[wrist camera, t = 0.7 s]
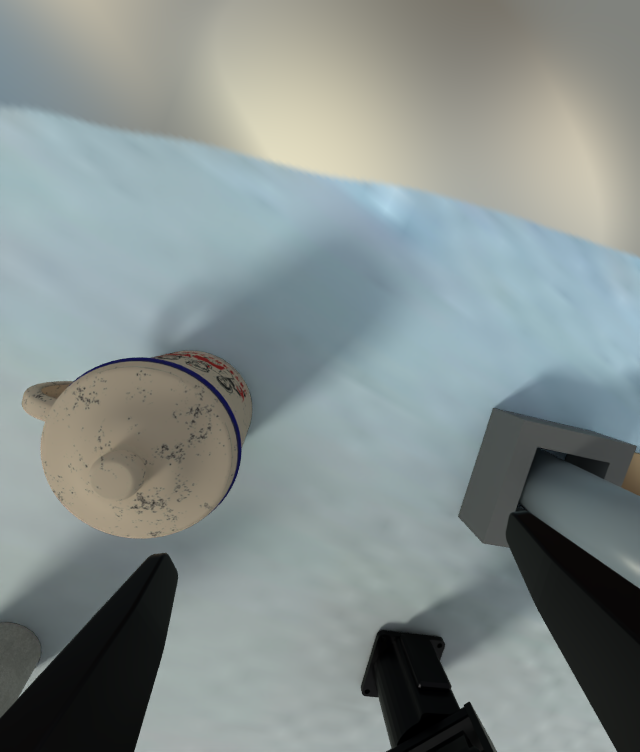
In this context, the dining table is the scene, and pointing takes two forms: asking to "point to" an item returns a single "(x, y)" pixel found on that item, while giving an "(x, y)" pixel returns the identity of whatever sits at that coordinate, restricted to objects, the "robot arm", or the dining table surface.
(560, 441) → the frame
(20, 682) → the house plant
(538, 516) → the ball
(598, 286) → the dining table surface
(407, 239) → the dining table surface
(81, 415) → the teacup with lid
